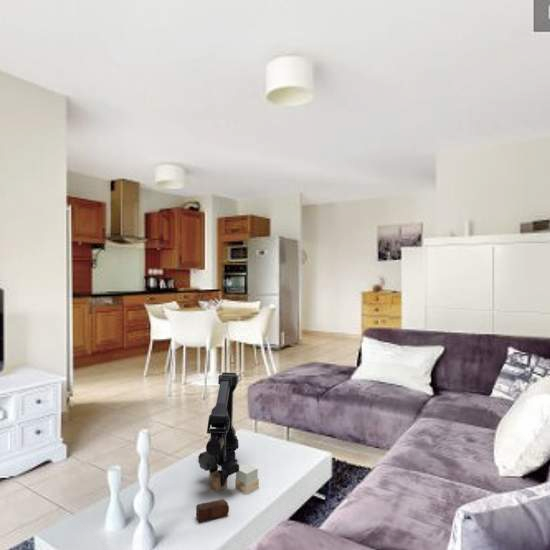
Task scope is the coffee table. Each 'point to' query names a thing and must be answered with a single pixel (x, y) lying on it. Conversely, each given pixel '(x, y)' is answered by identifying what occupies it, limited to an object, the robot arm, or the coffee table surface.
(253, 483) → the tower base
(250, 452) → the coffee table surface
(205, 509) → the brick
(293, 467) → the coffee table surface
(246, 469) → the tower top
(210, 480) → the walnut block
